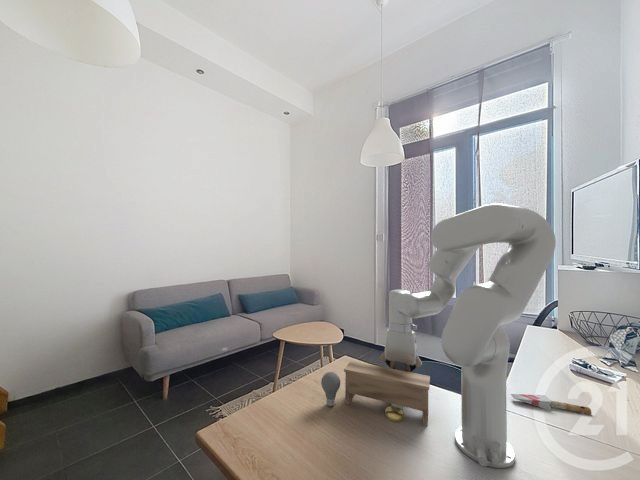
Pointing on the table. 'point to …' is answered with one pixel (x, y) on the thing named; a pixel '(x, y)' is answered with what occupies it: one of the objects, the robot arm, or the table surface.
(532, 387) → the table surface
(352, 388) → the wooden bench
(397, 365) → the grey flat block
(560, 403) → the paintbrush
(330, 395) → the light bulb
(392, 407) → the token
